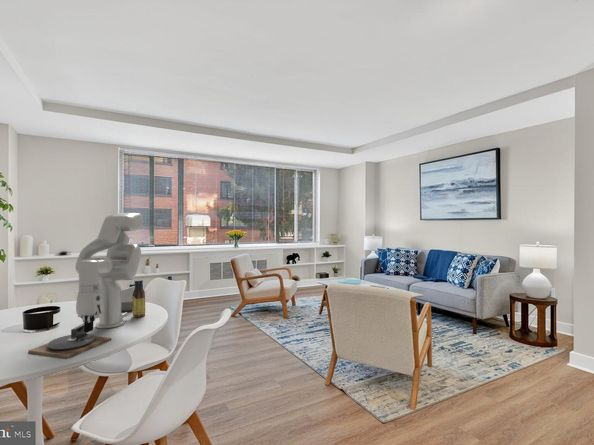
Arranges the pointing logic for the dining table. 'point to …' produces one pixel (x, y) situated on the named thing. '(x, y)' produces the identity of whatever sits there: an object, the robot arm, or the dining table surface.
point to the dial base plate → (68, 353)
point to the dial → (72, 340)
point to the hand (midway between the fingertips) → (88, 331)
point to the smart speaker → (127, 299)
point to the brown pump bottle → (138, 299)
